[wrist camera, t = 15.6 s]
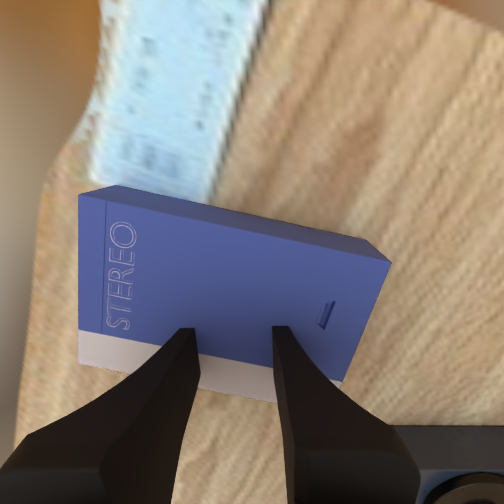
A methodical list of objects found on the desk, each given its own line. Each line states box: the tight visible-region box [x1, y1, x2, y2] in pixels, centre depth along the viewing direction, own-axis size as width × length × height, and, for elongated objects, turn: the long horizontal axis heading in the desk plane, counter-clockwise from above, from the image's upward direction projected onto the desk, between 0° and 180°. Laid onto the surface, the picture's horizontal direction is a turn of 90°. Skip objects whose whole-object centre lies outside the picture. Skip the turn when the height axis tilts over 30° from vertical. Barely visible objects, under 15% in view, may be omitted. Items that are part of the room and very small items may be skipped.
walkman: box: [78, 185, 391, 404], centre depth 13 cm, size 8×3×12 cm
